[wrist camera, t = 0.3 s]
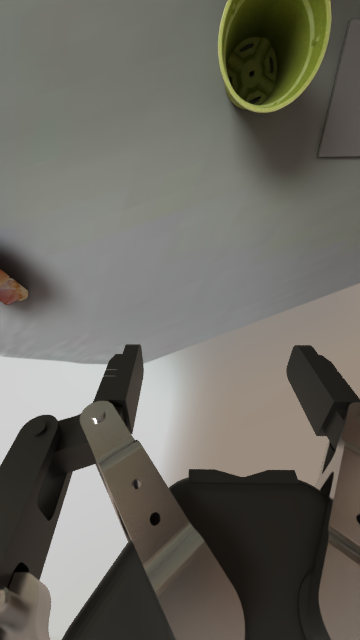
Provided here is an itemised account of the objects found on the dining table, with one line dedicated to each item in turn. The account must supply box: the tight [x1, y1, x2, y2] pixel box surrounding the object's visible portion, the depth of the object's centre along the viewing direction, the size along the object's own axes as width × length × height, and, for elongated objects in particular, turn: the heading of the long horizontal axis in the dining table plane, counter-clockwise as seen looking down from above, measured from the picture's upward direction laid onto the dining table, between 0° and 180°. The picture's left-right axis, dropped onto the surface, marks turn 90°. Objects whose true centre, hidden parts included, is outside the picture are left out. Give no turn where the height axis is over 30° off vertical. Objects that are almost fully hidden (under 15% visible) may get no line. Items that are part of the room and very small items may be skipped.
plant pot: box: [218, 0, 331, 113], centre depth 24 cm, size 9×9×9 cm
